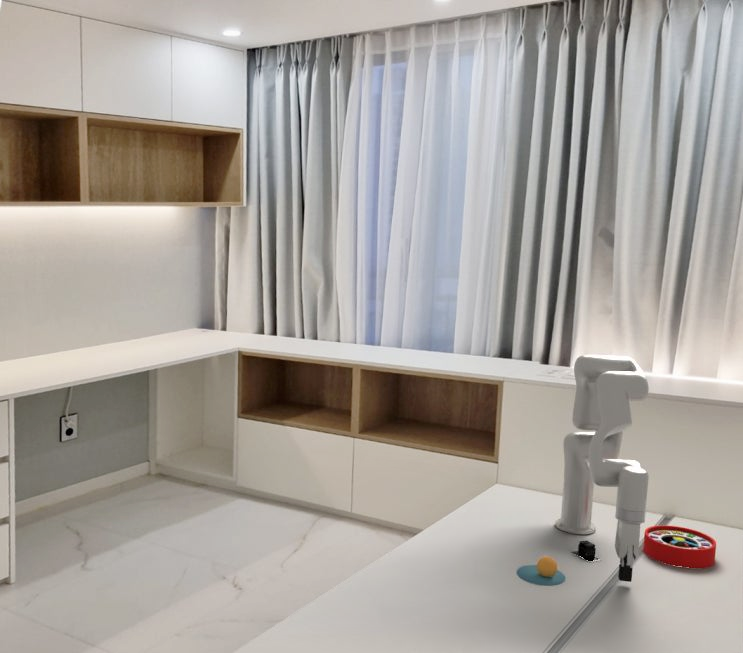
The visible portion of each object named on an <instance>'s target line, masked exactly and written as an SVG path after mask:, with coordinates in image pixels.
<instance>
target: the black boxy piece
mask: <svg viewBox="0 0 743 653" xmlns="http://www.w3.org/2000/svg"><path fill="white" fill-rule="evenodd" d="M596 549H597V548H596V544H594V543H593V542H592V541H591V542H590V541H589V540H581V541H579V543H578V545H577V550H576V551H571V554H573V555H575V554H576V555H575V556H577V555H578V556H577V557H579V556H581V557H583V558H584V559H585V560H584V559H583V560H584V561H586V560H588V561H593V560H594V562H596V561H595V560H598V559H600V558H599V557H598V556H596ZM595 556H596V557H595ZM581 557H580V558H581ZM588 561H587V562H588Z"/></svg>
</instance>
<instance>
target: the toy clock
mask: <svg viewBox="0 0 743 653" xmlns="http://www.w3.org/2000/svg"><path fill="white" fill-rule="evenodd" d="M716 550H717V541H716V540H715V539H714V538H713V537H712V536H709V535H708V534H706V533H703V532H701V531H700V530H699V531H698V530H695V529H691V528H688V527H683V526H682V527H681V526H675V525H668V524H667V525H665V524H664V525H662V524H661V525H653V526H649V527H647V528H646V529H645V530H644V536H643V546H642V551H643V553H644V555H646V556H647V557H649V558H650V557H651V558H650V559H652V558H653V559H652V560H654V559H655V560H654V561H656V560H657V561H656V562H658V561H660V562H659V563H661V562H663V563H662V564H664V563H666V564H665V565H667V564H670V565H669V566H671V565H675V566H682V567H689V568H702V569H708V568H710V567H712V566H713V565H714V564H715V562H716V560H715V559H716ZM675 566H674V567H675ZM707 567H708V568H707ZM689 568H688V569H689Z"/></svg>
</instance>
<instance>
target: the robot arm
mask: <svg viewBox="0 0 743 653" xmlns="http://www.w3.org/2000/svg"><path fill="white" fill-rule="evenodd" d="M573 374H574V380H575V384H576V390H575V395H574V402H573V410H572V417H571V418H572V423H573V426H574V427H575V428H576V429H578V430H580V431H573V432H570V433H567V434H566V435H565V436H564V438H563V444H562V446H563V454H564V455H563V456H564V469H563V470H564V471H563V472H564V473H563V486H562V500H561V513H560V518H558V519H557V520H555V527H556V528H558V530H561V531H562V532H566V533H569V534H575V535H589V534H593V533H595V532H596V525H595V524H594V523H592V515H593V512H592V511H593V501H594V487H595V485H596V486H599V487H603V488H604V487H605V488H606V487H607V488H617V492H616V503H615V504H616V506H615V517H614V518H615V519H616V520H617V524H616V530H615V531H616V533H615V539H614V548H615V552H616V555H617V557H618V558H619V567H618V580H619V581H620V582H629V583H631V582H632V580H633V577H632V576H633V566H634V564H633V563H634V561H637V560H638V557H639V548H640V538H641V536H640V534H641V524H644V523H645V522H646V513H647V500H648V488H649V473H648V472H647V470H645V469H644V467H643V466H642V464H641V463H640V462H639V461H637V460H634V459H618V458H619V456H620V451H621V445H622V441H623V434H624V431H626V430H627V429H630V428H631V426H632V424H633V419H632V418H633V417H632V411H631V404H630V402H643V401H645V400H646V399H647V397H648V396H649V391H650V390H649V388H650V387H649V382H648V379H647V377H646V375H645V372H644V371H643V370H642V368H641V367H640V366H639V365H638V363H636V361H635V360H634V359H632V357H629V356H621V355H619V356H618V355H617V356H616V355H615V356H614V355H603V354H602V355H601V354H599V355H597V354H584V355H579V356H578V357H577V358H576V360H575V361H574V365H573Z"/></svg>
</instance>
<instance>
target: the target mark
mask: <svg viewBox="0 0 743 653" xmlns="http://www.w3.org/2000/svg"><path fill="white" fill-rule="evenodd" d="M516 574H517V576H518V577H519V578H520V579H522V580H523V581H525V582H529V583H531V584H535V585H539V586H556V585H561V584H562V583H564V582H565V581H566V576H565V574H564V573H563V572H562V571H560V570H558V569H557V572H556V573H555V575H553V576H552V577H544V576H542V575H541V574H540V573H539V572H538V570H537V564H527V565H521V566H520V567H518V568H517V570H516Z"/></svg>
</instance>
